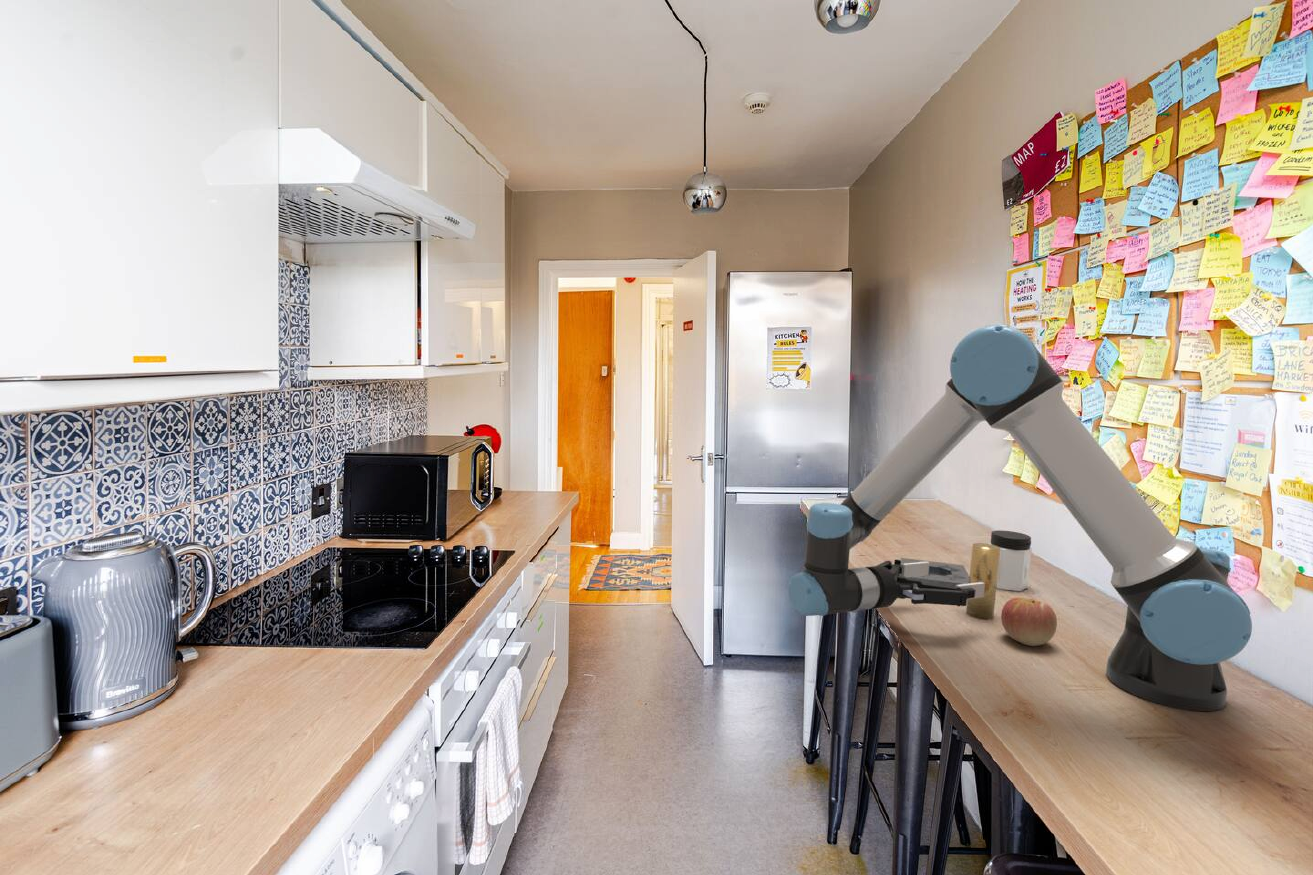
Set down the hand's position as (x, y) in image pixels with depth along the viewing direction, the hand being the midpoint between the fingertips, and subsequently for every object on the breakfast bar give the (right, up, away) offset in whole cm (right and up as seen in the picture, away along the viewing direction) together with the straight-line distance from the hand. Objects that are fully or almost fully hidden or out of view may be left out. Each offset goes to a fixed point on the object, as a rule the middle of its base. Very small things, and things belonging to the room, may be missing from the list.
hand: (953, 578), depth 133 cm
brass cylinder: (+7, -8, +3) cm, 11 cm away
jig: (+5, -6, +22) cm, 24 cm away
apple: (+9, -10, -10) cm, 16 cm away
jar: (+22, -7, +24) cm, 33 cm away
